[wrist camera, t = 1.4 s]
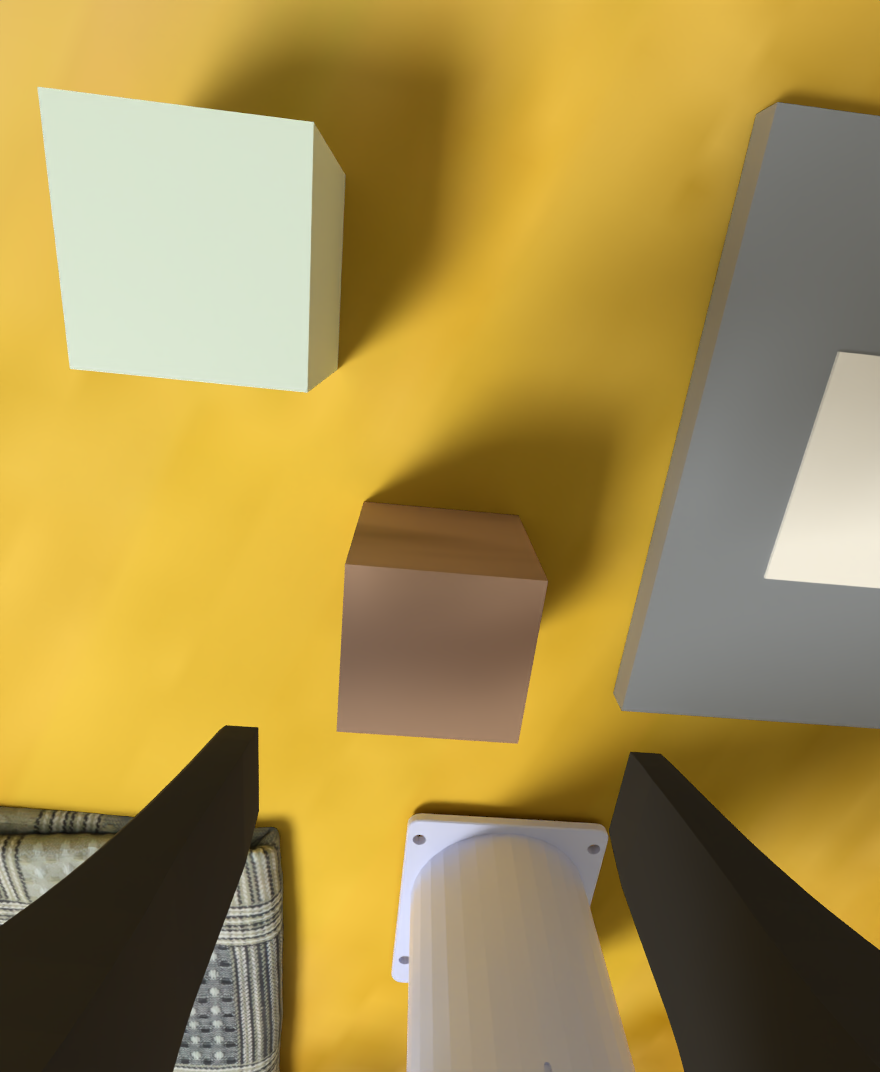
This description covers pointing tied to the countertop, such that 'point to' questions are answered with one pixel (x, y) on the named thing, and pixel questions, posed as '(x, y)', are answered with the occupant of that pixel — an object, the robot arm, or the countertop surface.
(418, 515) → the walnut block
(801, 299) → the base plate
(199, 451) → the countertop surface
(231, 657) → the countertop surface
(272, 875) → the dish towel
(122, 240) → the sage block
